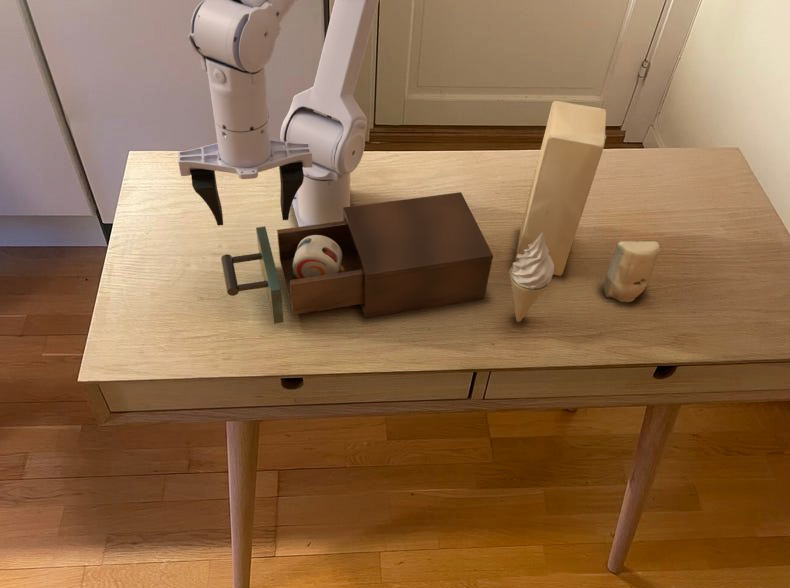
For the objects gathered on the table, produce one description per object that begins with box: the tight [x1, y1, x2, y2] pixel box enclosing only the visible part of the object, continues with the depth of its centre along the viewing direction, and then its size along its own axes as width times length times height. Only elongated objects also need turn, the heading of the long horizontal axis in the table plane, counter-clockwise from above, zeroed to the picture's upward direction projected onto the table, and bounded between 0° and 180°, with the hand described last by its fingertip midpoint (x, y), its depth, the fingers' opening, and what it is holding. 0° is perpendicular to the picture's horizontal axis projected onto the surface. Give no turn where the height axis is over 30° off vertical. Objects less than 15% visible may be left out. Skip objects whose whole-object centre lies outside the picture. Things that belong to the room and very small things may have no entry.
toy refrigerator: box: [514, 100, 607, 277], centre depth 97 cm, size 8×7×21 cm
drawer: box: [220, 221, 365, 324], centre depth 95 cm, size 20×11×6 cm, turn 106°
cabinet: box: [343, 191, 494, 318], centre depth 98 cm, size 16×13×8 cm
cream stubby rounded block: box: [602, 240, 662, 303], centre depth 98 cm, size 6×5×8 cm
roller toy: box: [293, 235, 344, 279], centre depth 94 cm, size 4×6×6 cm
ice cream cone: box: [508, 233, 554, 323], centre depth 91 cm, size 5×5×15 cm
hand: (252, 217), depth 90 cm, fingers open, 7 cm apart
